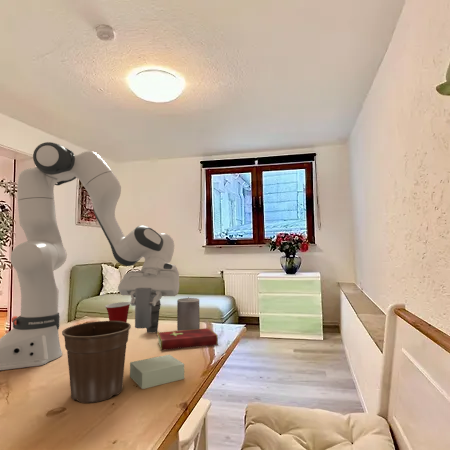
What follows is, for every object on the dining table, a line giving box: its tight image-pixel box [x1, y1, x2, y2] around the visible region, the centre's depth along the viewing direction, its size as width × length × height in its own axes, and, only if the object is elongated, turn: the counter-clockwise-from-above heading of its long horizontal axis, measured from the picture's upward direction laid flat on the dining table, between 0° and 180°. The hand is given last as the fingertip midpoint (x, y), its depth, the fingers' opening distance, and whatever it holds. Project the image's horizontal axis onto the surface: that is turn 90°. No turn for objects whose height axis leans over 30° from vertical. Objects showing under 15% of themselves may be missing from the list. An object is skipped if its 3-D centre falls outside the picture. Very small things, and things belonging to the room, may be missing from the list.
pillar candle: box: [176, 296, 201, 331], centre depth 145 cm, size 10×10×15 cm
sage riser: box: [129, 354, 185, 390], centre depth 93 cm, size 12×10×4 cm
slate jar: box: [134, 288, 151, 329], centre depth 107 cm, size 5×5×12 cm
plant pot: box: [61, 320, 132, 404], centre depth 84 cm, size 16×16×16 cm
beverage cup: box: [145, 296, 161, 334], centre depth 145 cm, size 7×7×20 cm
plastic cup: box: [104, 301, 131, 323], centre depth 147 cm, size 11×11×12 cm
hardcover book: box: [156, 327, 219, 351], centre depth 127 cm, size 12×21×4 cm, turn 108°
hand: (142, 304), depth 106 cm, fingers closed on slate jar, 5 cm apart
